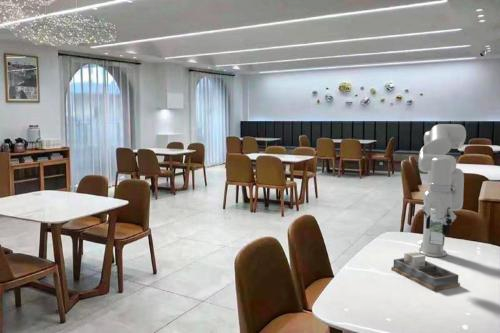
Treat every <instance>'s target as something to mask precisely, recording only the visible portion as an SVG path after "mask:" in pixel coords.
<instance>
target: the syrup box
mask: <svg viewBox="0 0 500 333" xmlns="http://www.w3.org/2000/svg"><path fill="white" fill-rule="evenodd" d="M435 216H436V210H435V209H432V208H431V216H430V233H429V244H434V245H442V246H443V247H444V246H445V239H446V237H445V236H446V235H443V234H442V229H443V225H444V222H443V220H442V219H441V218H437V217H435Z"/></svg>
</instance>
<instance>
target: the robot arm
mask: <svg viewBox="0 0 500 333" xmlns="http://www.w3.org/2000/svg"><path fill="white" fill-rule="evenodd" d="M466 138H467V131H466V128H465V126H464V125H462V124H456V123H455V124H454V123H439V124H435V125H434V126H432V128H431V129H430V130H428V131H426V132H424V135H423V144H424V145H423V146H422V147H421V149H420V150H419V154H418V169H419V171H421V172H423V173H427V183H428V185H429V189H427V190H426V191H424V193H423V197H422V198H423V199H422V200H423V201H422V202H423V206H422V207H421V208H422V211H423V229H422V230H423V233H422V239H420V240H419V241H418V242H417V245H419V246H420V247H419V248H418V253H420V254H422V255H425V257H426V256H427V257H430V258H431V257H433V258H443V257H446V256H447V251H446V250H444V246H442V245H434V244H429V233H430V216H431V208H432V209H435V210H436V216H435V217H437V218H441V219H442V220H443V222H444V225H443V229H442V234H443V235H445V236H446V235H449V234H450V232H451V225H452V223H453V222H454V221H455V220H456V219H457V215H456V214H455V213H454V211H455V212H458V211H460V210H462V209H463V206H464V190H465V188H464V187H465V186H464V183H465V175H464V172H463V170H462V169H460V168H457V160H456V157H454V156H453V155H450V154H447V153H449V152H450V151H451V149H454V150H455V149H461V148H462V147H463V146H464V143H465V142H466ZM451 189H452V190H451Z"/></svg>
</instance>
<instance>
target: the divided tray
mask: <svg viewBox="0 0 500 333" xmlns="http://www.w3.org/2000/svg"><path fill="white" fill-rule="evenodd" d="M403 256H404V257H401V258H396V259H393V266H392V267H391V271H393V272H395V273H397V274H398V275H401V276H403V277H404V278H406V279H409V280H411V281H413V282H415V283H417V284H418V285H420V286H422V287H424V288H426V289H427V290H430V291H432V292H437V291H442V290H447V289H453V288H457V287H458V288H459V287H460V286H461V283H460V282H459V276H460V275H459V274H457V273H455V272H452V271H451V270H448V269H445V268H444V267H441V266H439V265H436V264H434V263H432V262H430V261H427V260H426V255H423V254H421V253H420V252H419V251H418V252H417V251H411V252H410V251H409V252H404V255H403Z"/></svg>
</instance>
